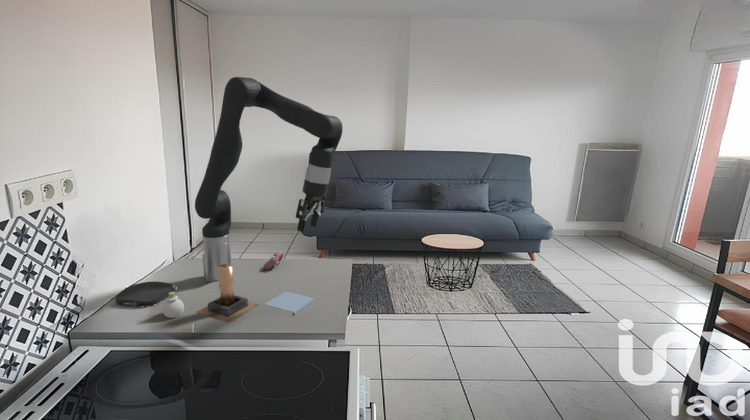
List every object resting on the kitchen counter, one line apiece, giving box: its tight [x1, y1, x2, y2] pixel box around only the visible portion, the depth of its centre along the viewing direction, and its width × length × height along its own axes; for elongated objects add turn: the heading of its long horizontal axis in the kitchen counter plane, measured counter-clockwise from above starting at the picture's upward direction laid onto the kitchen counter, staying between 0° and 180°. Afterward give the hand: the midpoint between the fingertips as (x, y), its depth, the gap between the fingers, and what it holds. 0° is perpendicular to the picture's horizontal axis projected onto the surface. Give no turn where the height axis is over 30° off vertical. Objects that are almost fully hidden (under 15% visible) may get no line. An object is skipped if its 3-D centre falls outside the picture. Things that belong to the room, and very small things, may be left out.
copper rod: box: [218, 264, 236, 307], centre depth 135 cm, size 4×4×14 cm
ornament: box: [162, 285, 185, 319], centre depth 132 cm, size 6×7×10 cm
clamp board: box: [196, 294, 260, 323], centre depth 137 cm, size 14×13×4 cm
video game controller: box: [263, 250, 285, 270], centre depth 175 cm, size 10×5×7 cm, turn 169°
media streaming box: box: [115, 281, 175, 307], centre depth 146 cm, size 15×15×3 cm
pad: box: [264, 291, 315, 316], centre depth 142 cm, size 12×11×1 cm
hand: (307, 228), depth 138 cm, fingers open, 8 cm apart
